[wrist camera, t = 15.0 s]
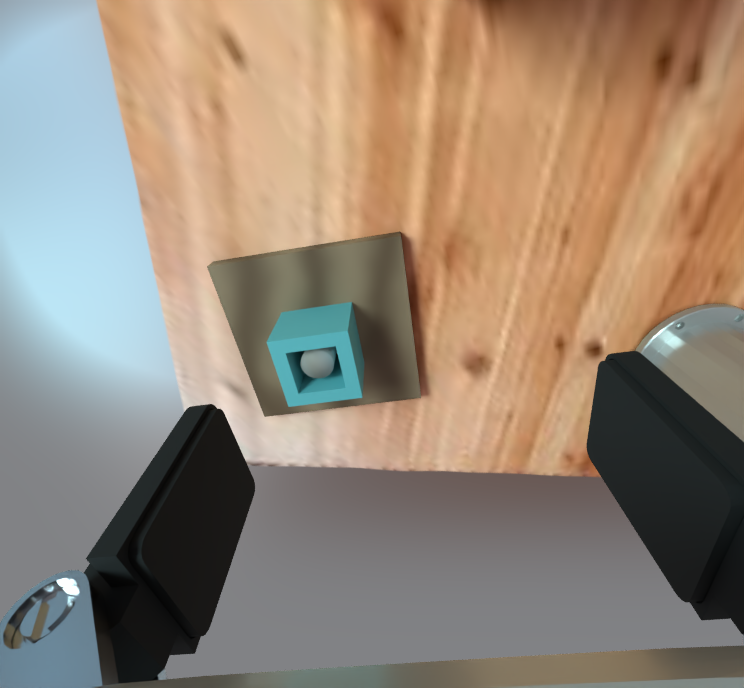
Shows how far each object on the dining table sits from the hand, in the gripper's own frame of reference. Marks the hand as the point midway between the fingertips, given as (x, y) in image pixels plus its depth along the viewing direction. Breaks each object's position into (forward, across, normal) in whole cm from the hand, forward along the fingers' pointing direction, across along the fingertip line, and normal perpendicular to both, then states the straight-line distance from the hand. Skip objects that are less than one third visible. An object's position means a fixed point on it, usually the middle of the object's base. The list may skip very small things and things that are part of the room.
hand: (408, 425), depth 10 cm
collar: (+27, +8, +11) cm, 30 cm away
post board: (+28, +8, +11) cm, 31 cm away
